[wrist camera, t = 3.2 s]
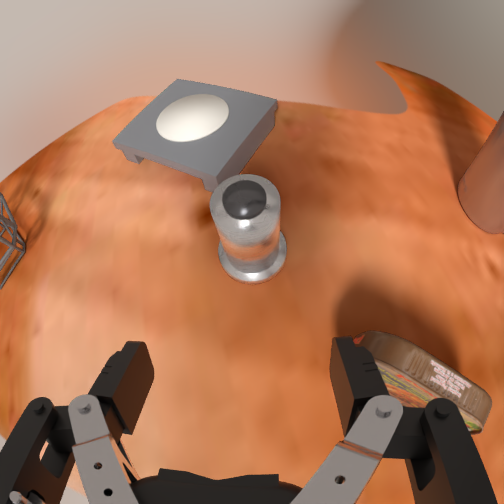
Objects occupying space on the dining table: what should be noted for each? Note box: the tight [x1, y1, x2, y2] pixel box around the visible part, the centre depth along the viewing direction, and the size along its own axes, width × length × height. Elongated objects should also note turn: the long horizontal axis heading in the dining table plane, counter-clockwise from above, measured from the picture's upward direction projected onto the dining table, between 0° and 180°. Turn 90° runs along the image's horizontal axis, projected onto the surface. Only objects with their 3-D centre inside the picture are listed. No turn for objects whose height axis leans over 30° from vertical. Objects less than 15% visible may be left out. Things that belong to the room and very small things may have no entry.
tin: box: [353, 331, 492, 435], centre depth 20 cm, size 15×3×8 cm, turn 53°
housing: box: [210, 174, 287, 284], centre depth 26 cm, size 7×7×10 cm
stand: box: [112, 79, 277, 192], centre depth 35 cm, size 16×14×4 cm
